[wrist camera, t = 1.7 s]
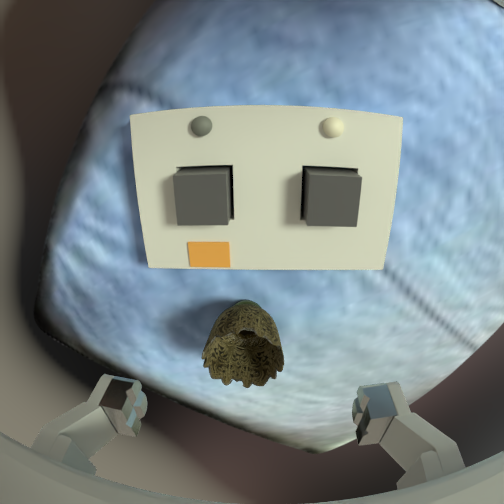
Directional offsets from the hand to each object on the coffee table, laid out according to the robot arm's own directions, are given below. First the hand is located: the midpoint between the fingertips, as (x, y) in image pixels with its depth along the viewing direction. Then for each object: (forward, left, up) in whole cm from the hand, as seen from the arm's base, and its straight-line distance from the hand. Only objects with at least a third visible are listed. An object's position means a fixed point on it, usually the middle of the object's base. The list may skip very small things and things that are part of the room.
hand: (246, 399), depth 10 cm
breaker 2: (-3, +6, -18) cm, 19 cm away
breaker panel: (-3, +1, -20) cm, 20 cm away
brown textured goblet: (+11, -1, -20) cm, 23 cm away
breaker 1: (-3, -4, -18) cm, 19 cm away
